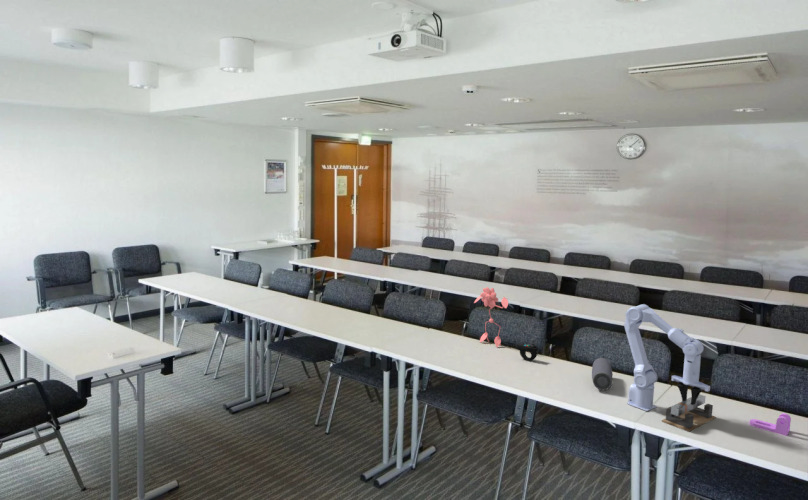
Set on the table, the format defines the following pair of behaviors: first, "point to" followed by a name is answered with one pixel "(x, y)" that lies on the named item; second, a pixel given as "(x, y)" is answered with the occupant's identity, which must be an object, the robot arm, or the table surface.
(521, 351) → the controller
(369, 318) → the table surface
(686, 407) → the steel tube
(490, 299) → the figurine
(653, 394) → the robot arm
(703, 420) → the board
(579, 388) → the table surface
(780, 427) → the bracket
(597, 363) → the bluetooth speaker
